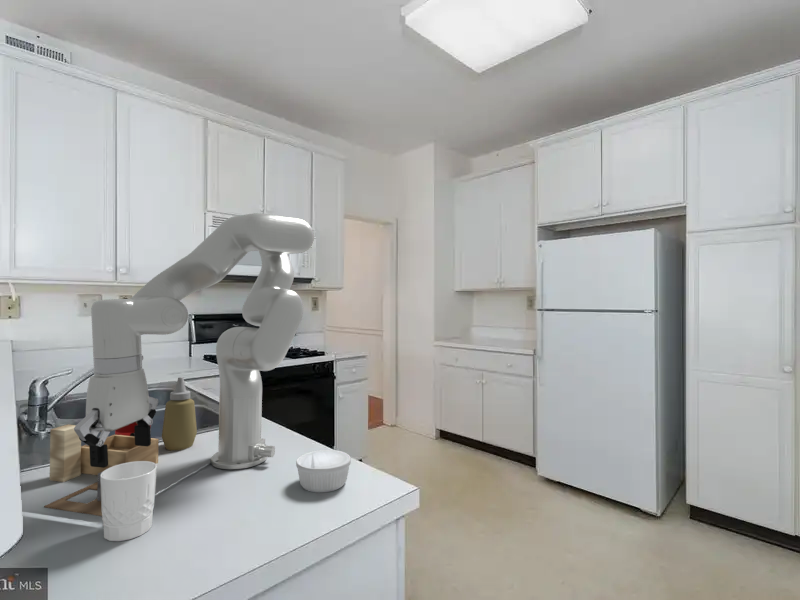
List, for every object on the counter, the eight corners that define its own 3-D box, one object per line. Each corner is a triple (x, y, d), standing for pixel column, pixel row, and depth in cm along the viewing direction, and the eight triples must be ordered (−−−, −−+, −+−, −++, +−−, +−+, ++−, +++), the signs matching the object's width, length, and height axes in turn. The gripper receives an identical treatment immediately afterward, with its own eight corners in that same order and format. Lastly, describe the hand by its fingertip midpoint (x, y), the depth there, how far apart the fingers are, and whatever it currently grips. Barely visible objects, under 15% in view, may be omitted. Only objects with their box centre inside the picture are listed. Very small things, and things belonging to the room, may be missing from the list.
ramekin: (285, 482, 90) (286, 457, 90) (329, 468, 98) (329, 445, 98) (316, 501, 82) (316, 473, 82) (360, 484, 90) (361, 459, 90)
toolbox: (158, 465, 98) (158, 438, 98) (125, 481, 89) (125, 452, 89) (114, 460, 100) (114, 434, 100) (77, 475, 91) (78, 447, 91)
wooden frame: (153, 493, 84) (153, 463, 84) (106, 520, 73) (107, 486, 73) (96, 485, 86) (97, 457, 86) (44, 510, 76) (44, 478, 76)
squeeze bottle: (203, 447, 110) (204, 377, 110) (172, 456, 103) (173, 382, 103) (185, 441, 114) (186, 373, 114) (154, 449, 107) (155, 378, 107)
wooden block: (80, 477, 90) (81, 425, 90) (63, 485, 87) (64, 430, 87) (66, 476, 91) (67, 424, 91) (49, 483, 87) (50, 429, 87)
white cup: (93, 548, 65) (94, 483, 65) (105, 523, 72) (106, 464, 72) (152, 537, 68) (153, 475, 68) (158, 514, 76) (159, 458, 76)
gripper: (138, 356, 89) (142, 437, 90) (56, 374, 72) (61, 474, 73) (170, 357, 87) (173, 439, 88) (92, 376, 70) (97, 478, 71)
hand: (122, 455), depth 80 cm, fingers open, 9 cm apart
